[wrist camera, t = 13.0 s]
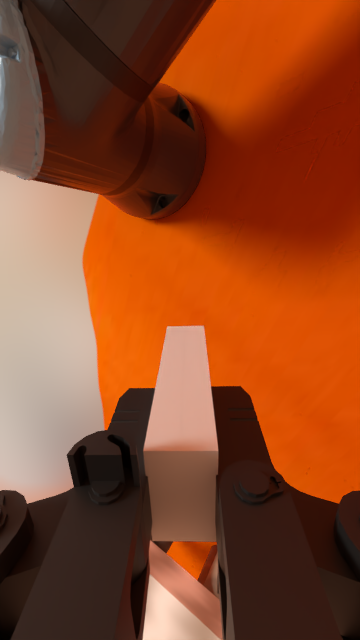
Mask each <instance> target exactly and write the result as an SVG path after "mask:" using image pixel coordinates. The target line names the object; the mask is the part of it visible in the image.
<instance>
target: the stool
mask: <svg viewBox="0 0 360 640" xmlns="http://www.w3.org/2000/svg"><path fill="white" fill-rule="evenodd" d="M149 562H150V576H149V585H148V595H147V604H146V613H145V622H144V631H143V640H223V639H222V625H221V611H220V598H219V594H217V577H218V550H217V545H214V546H212V548H211V550H210V553H209V555H208V557H207V560H206V562H205V564H204V566H203V569H202V571H201V573H200V576H199V578H198V580H196V579H195V578H194V577H192V576H191V575H190V574H189V573H188V572H187V571H186V570H184V569H183V568H182V567H181V566H180V565H179V564H177V563H176V562H175V561H174V560H173V559H172V558H171V557H169V556H168V555H167V554H166V553H165V552H164V551H162V550H161V549H160V548H159V547H158V546H157V545H156V544H154V543H153V542H152V541H151V540H150V547H149Z"/></svg>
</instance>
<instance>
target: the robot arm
mask: <svg viewBox="0 0 360 640" xmlns="http://www.w3.org/2000/svg"><path fill="white" fill-rule="evenodd" d="M215 1H216V0H0V170H1V171H4V172H7V173H10V174H13V175H16V176H18V177H19V178H21V179H24V180H35V181H40V182H44V183H49V184H54V185H58V186H63V187H68V188H73V189H77V190H82V191H87V192H91V193H96V194H101V195H103V196H104V197H105V198H107V199H108V200H109V201H110V202H112V203H113V204H114V205H116V206H117V207H118V208H119V209H121V210H122V211H124V212H125V213H127V214H129V215H132V216H135V217H139V218H145V219H159V218H163V217H166V216H168V215H171V214H172V213H174V212H176V211H177V210H178V209H180V208H181V207H182V206H183V205H184V204H185V203H186V202H187V201H188V199H189V198H190V197H191V195H192V194H193V192H194V191H195V189H196V187H197V185H198V183H199V180H200V178H201V175H202V172H203V168H204V163H205V155H206V140H205V133H204V129H203V125H202V122H201V119H200V117H199V115H198V113H197V112H196V110H195V108H194V107H193V106H192V105H191V103H190V102H189V101H188V100H187V99H186V98H185V97H183V96H182V95H181V94H180V93H179V92H178V91H176V90H175V89H173V88H172V87H170V86H168V85H165V84H162V83H159V81H160V80H161V78H162V77H163V75H164V74H165V73H166V71H167V70H168V68H169V67H170V65H171V64H172V63H173V61H174V60H175V58H176V57H177V55H178V54H179V53H180V51H181V50H182V48H183V47H184V45H185V44H186V43H187V41H188V40H189V38H190V37H191V36H192V34H193V33H194V31H195V30H196V28H197V27H198V26H199V24H200V23H201V21H202V20H203V18H204V17H205V16H206V14H207V13H208V11H209V10H210V8H211V7H212V6H213V4H214V3H215ZM67 458H68V462H69V467H70V471H71V476H72V480H73V485H74V488H72V489H70V490H69V491H67V492H64V493H62V494H59V495H56V496H53V497H49V498H46V499H43V500H39V501H36V502H33V503H29V504H27V503H26V500H25V498H24V496H23V495H21V494H20V493H18V492H17V491H10V490H2V491H0V640H143V631H144V622H145V613H146V604H147V595H148V585H149V576H150V562H149V547H150V538H151V532H152V541H195V542H217V550H218V577H217V594H219V598H220V611H221V625H222V639H223V640H360V491H352V492H350V493H348V494H346V495H344V496H343V497H342V499H341V501H340V503H339V504H337V503H334V502H331V501H327V500H324V499H321V498H317V497H314V496H311V495H308V494H305V493H303V492H300V491H298V490H297V489H295V488H293V487H292V486H290V485H289V484H288V483H287V482H285V480H284V479H283V477H282V476H281V475H280V474H279V473H278V472H277V471H276V470H275V469H274V467H273V464H272V462H271V459H270V456H269V453H268V450H267V447H266V444H265V441H264V437H263V434H262V431H261V428H260V425H259V422H258V421H257V416H256V413H255V411H254V406H253V403H252V400H251V397H250V396H249V395H248V394H247V392H246V391H245V390H244V389H243V388H242V387H241V386H221V387H211V383H210V375H209V366H208V358H207V349H206V341H205V332H204V326H168V327H167V331H166V336H165V341H164V346H163V352H162V357H161V362H160V367H159V372H158V377H157V382H156V388H130V389H129V390H127V391H126V392H125V393H124V394H123V395H122V396H121V397H120V398H119V401H118V404H117V406H116V409H115V413H114V414H113V417H112V420H111V423H110V425H109V428H108V430H105V431H98V432H96V433H93V434H91V435H88V436H86V437H84V438H83V439H82V440H80V441H79V442H78V443H76V444H75V445H74V446H73V447H72V449H71V450H70V451H69V453H68V454H67Z"/></svg>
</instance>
